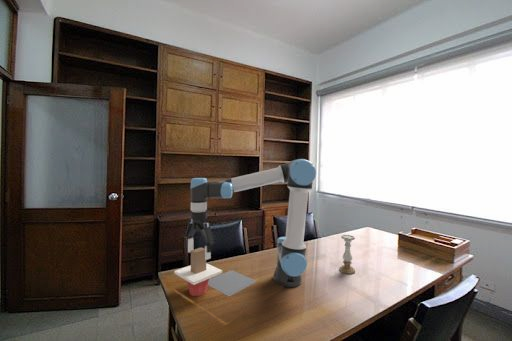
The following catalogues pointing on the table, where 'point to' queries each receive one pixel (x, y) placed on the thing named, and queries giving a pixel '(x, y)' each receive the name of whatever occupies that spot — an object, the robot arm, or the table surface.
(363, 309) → the table surface
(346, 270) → the candle holder
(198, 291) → the flower pot
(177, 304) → the table surface
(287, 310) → the table surface
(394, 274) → the table surface
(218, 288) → the mat
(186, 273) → the lid
